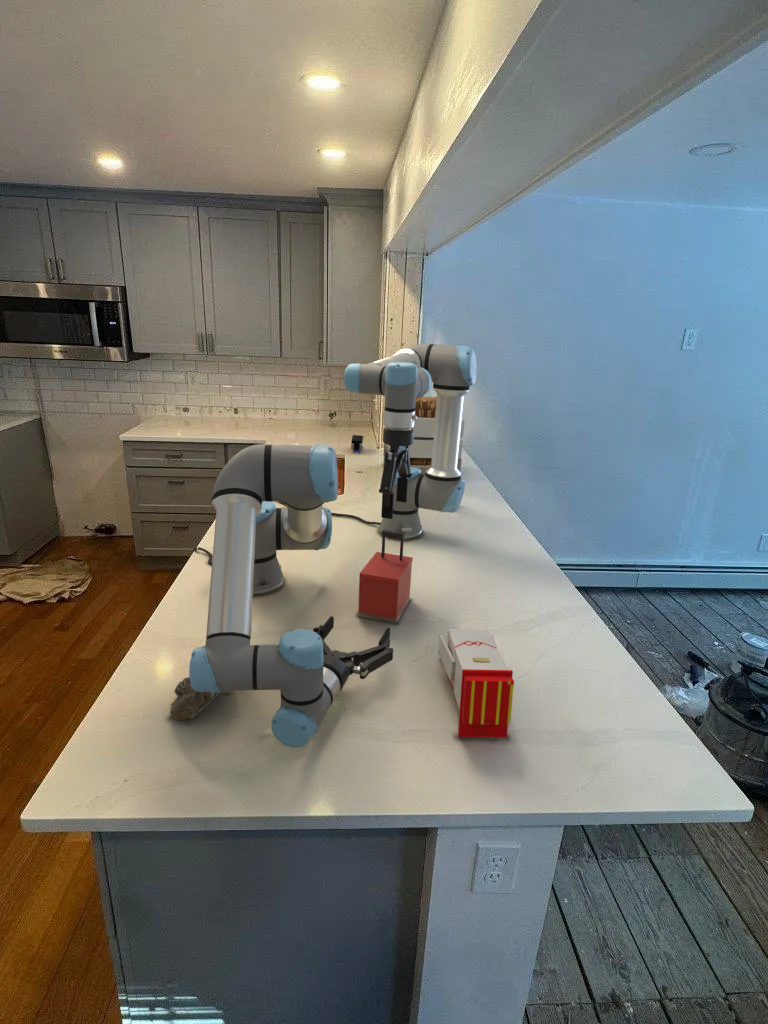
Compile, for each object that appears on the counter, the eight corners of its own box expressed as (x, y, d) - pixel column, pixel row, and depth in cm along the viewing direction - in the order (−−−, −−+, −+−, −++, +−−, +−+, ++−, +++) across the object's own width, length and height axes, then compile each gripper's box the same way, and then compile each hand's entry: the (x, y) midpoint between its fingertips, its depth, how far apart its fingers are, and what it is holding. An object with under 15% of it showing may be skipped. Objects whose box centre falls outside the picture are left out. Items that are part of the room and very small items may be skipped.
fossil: (193, 639, 125) (242, 608, 120) (224, 667, 128) (272, 638, 123) (147, 714, 105) (202, 680, 100) (184, 746, 108) (239, 715, 103)
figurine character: (362, 456, 306) (363, 447, 319) (363, 443, 302) (363, 434, 316) (350, 456, 306) (351, 446, 319) (350, 442, 302) (351, 433, 316)
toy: (488, 613, 130) (523, 677, 101) (484, 667, 133) (517, 744, 104) (435, 612, 130) (455, 676, 101) (432, 666, 133) (451, 743, 103)
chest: (374, 592, 158) (375, 556, 154) (409, 599, 155) (411, 562, 152) (358, 616, 146) (359, 577, 142) (396, 623, 143) (398, 584, 139)
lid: (376, 555, 155) (377, 525, 152) (412, 561, 152) (414, 530, 149) (359, 577, 142) (360, 544, 139) (398, 584, 139) (400, 550, 136)
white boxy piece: (382, 463, 289) (386, 382, 275) (445, 464, 293) (451, 384, 279) (390, 482, 257) (394, 392, 243) (460, 483, 261) (468, 394, 247)
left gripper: (266, 683, 115) (309, 630, 134) (383, 712, 108) (411, 652, 127) (265, 651, 112) (309, 602, 131) (385, 679, 106) (413, 623, 125)
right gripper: (400, 439, 127) (395, 527, 134) (425, 420, 149) (419, 497, 156) (368, 436, 129) (365, 523, 136) (397, 418, 151) (393, 493, 158)
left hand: (360, 627), depth 129 cm, fingers open, 13 cm apart
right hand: (394, 509), depth 146 cm, fingers open, 13 cm apart
